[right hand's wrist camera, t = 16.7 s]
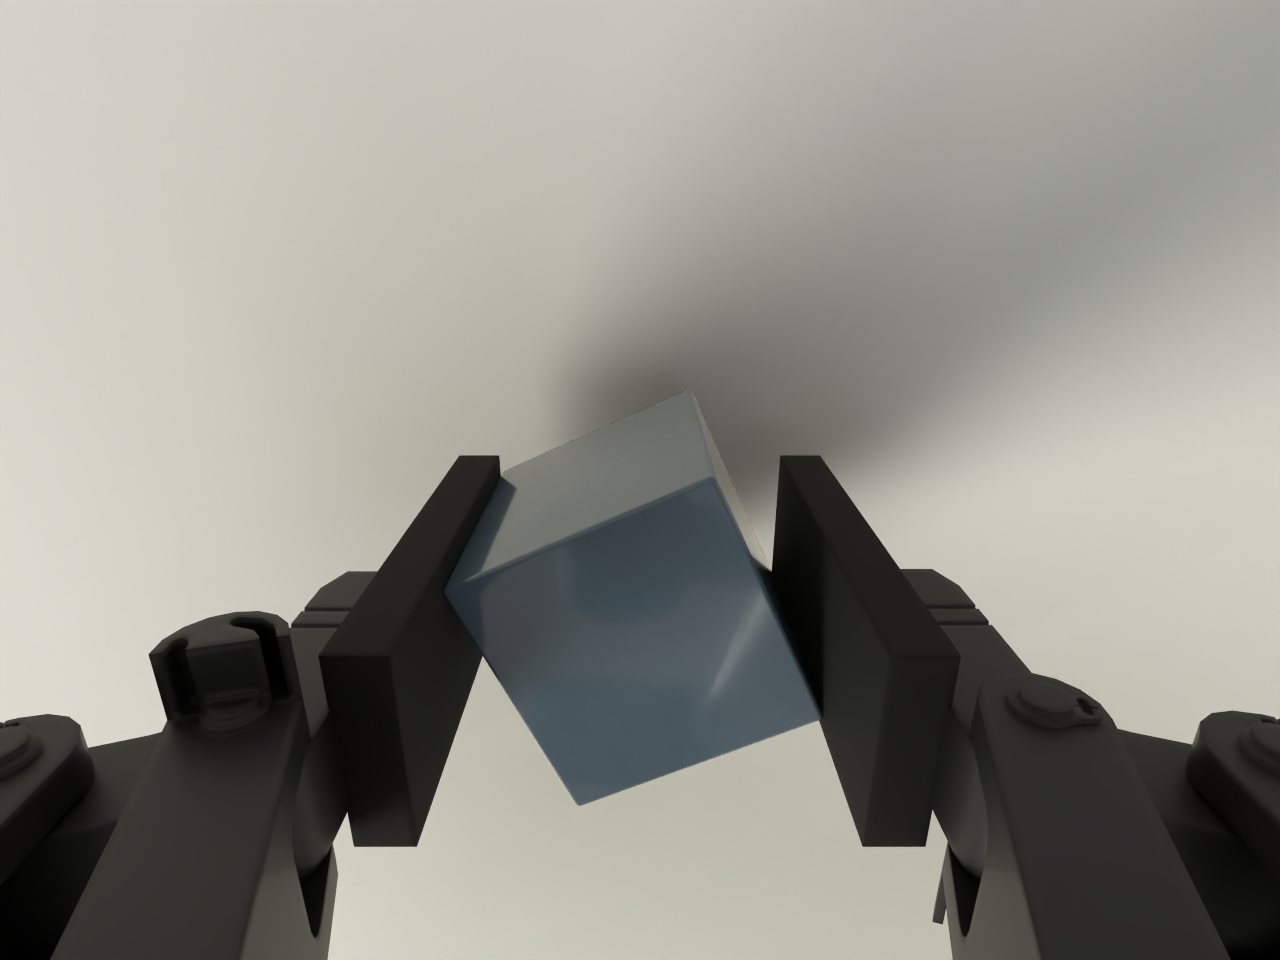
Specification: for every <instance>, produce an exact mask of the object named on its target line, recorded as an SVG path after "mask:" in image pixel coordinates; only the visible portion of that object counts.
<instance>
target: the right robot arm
mask: <svg viewBox="0 0 1280 960" xmlns="http://www.w3.org/2000/svg"><path fill="white" fill-rule="evenodd" d="M500 477H501V474H500V461H499V456H459V457H458V459H457V460H456V461H455V463H454V464H453V466H452V467H451V469H450V470H449V471H448V473H447V474H446V476H445V477H444V478H443V480H442V481H441V483H440V484H439V486H438V487H437V488H436V490H435V491H434V493H433V494H432V495H431V497H430V498H429V500H428V501H427V502H426V504H425V505H424V507H423V508H422V510H421V511H420V512H419V514H418V515H417V517H416V518H415V519H414V521H413V522H412V524H411V525H410V527H409V528H408V529H407V531H406V532H405V534H404V535H403V536H402V538H401V539H400V541H399V542H398V544H397V545H396V546H395V548H394V549H393V551H392V552H391V553H390V555H389V556H388V558H387V559H386V561H385V562H384V563H383V565H382V566H381V568H380V569H379V570H378V572H346V573H345V574H343V575H341V576H340V577H338V578H336V579H335V580H333V581H332V582H330V583H328V584H327V585H325V586H323V587H322V588H320V590H319V591H318V592H317V593H316V594H315V596H314V597H313V598H312V599H311V601H310V602H309V603H308V604H307V605H306V607H305V611H301V613H300V614H299V615H298V616H297V618H296V619H295V620H294V621H293V622H292V624H291V628H289V626H288V623H287V622H286V621H285V620H283V619H282V618H281V617H279V616H278V615H275V614H270V613H265V612H260V611H251V612H233V613H229V614H224V615H219V616H214V617H210V618H207V619H204V620H202V621H199V622H196V623H194V624H191V625H188V626H186V627H183V628H182V629H180V630H178V631H177V632H175V633H173V634H172V635H170V636H168V637H167V638H165V639H163V640H162V641H161V642H160V643H159V644H158V645H157V646H156V647H155V648H154V649H153V650H152V651H151V652H150V653H149V658H150V661H151V665H152V668H153V672H154V675H155V678H156V682H157V685H158V689H159V692H160V696H161V699H162V703H163V706H164V710H165V713H166V717H167V722H166V725H165V727H164V729H163V731H162V732H160V733H156V734H153V735H149V736H144V737H139V738H134V739H129V740H125V741H120V742H115V743H110V744H105V745H100V746H95V747H90V748H88V747H87V744H86V741H85V738H84V735H83V732H82V729H81V726H80V725H79V724H78V723H76V722H75V721H74V720H73V719H71V718H70V717H67V716H59V715H51V714H45V715H38V716H30V717H22V718H16V719H12V720H8V721H6V722H5V723H2V722H1V723H0V960H327V958H328V950H329V942H330V934H331V926H332V918H333V910H334V902H335V894H336V886H337V878H338V872H337V864H336V858H335V853H334V848H333V841H334V839H335V837H336V835H337V832H338V830H339V828H340V826H341V824H342V822H343V820H344V818H345V816H346V814H347V812H348V817H349V822H350V827H351V833H352V838H353V843H354V847H417V844H418V842H419V839H420V836H421V833H422V830H423V827H424V824H425V821H426V818H427V815H428V813H429V810H430V807H431V804H432V801H433V798H434V795H435V792H436V789H437V786H438V784H439V781H440V778H441V775H442V772H443V769H444V766H445V763H446V760H447V758H448V755H449V752H450V749H451V746H452V743H453V740H454V737H455V734H456V731H457V729H458V726H459V723H460V720H461V717H462V714H463V711H464V708H465V705H466V702H467V700H468V697H469V694H470V691H471V688H472V685H473V682H474V679H475V676H476V673H477V671H478V668H479V665H480V662H481V659H482V656H483V655H482V654H481V652H480V650H479V649H478V647H477V646H476V644H475V643H474V641H473V639H472V638H471V636H470V635H469V633H468V631H467V630H466V628H465V627H464V625H463V624H462V622H461V620H460V619H459V617H458V616H457V614H456V612H455V611H454V609H453V608H452V606H451V605H450V603H449V601H448V600H447V598H446V597H445V595H444V592H443V589H444V587H445V585H446V583H447V581H448V579H449V577H450V575H451V573H452V571H453V569H454V567H455V565H456V563H457V561H458V559H459V558H460V556H461V554H462V552H463V550H464V548H465V546H466V544H467V542H468V540H469V538H470V536H471V534H472V532H473V530H474V528H475V526H476V524H477V522H478V520H479V518H480V516H481V514H482V512H483V510H484V508H485V507H486V505H487V503H488V501H489V499H490V497H491V495H492V493H493V491H494V489H495V487H496V485H497V483H498V481H499V479H500ZM772 574H773V577H774V579H775V582H776V585H777V588H778V591H779V593H780V596H781V599H782V602H783V605H784V607H785V610H786V613H787V616H788V619H789V621H790V624H791V627H792V630H793V632H794V635H795V638H796V641H797V644H798V646H799V649H800V652H801V655H802V658H803V660H804V663H805V666H806V669H807V672H808V674H809V677H810V680H811V683H812V685H813V688H814V691H815V694H816V697H817V699H818V702H819V705H820V708H821V711H822V713H823V714H822V719H820V720H819V721H820V724H821V727H822V730H823V733H824V736H825V739H826V742H827V745H828V747H829V750H830V753H831V756H832V759H833V762H834V765H835V768H836V771H837V774H838V776H839V779H840V782H841V785H842V788H843V791H844V794H845V797H846V800H847V803H848V805H849V808H850V811H851V814H852V817H853V820H854V823H855V826H856V829H857V832H858V834H859V837H860V840H861V843H862V846H863V847H925V846H926V840H927V835H928V830H929V825H930V819H931V814H932V809H933V811H934V813H935V815H936V817H937V819H938V821H939V824H940V826H941V828H942V830H943V832H944V834H945V836H946V838H947V840H948V843H947V848H946V853H945V858H944V863H943V868H942V873H941V877H940V882H939V887H938V892H937V897H936V902H935V908H934V915H933V922H935V923H939V924H943V920H944V915H945V911H946V909H947V916H948V924H949V932H950V940H951V948H952V956H953V960H1280V719H1278V720H1277V719H1275V717H1271V716H1266V715H1262V714H1254V713H1246V712H1239V711H1226V712H1218V713H1211V714H1210V715H1209V716H1207V717H1206V718H1205V719H1203V720H1202V721H1201V722H1200V724H1199V727H1198V730H1197V733H1196V736H1195V739H1194V742H1193V745H1191V744H1186V743H1182V742H1177V741H1172V740H1167V739H1162V738H1157V737H1152V736H1147V735H1142V734H1137V733H1132V732H1128V731H1124V730H1121V729H1117V727H1116V725H1115V723H1114V721H1113V719H1112V718H1111V717H1110V715H1109V714H1108V713H1107V712H1106V710H1105V709H1104V708H1103V707H1102V705H1101V704H1100V703H1098V702H1097V701H1096V700H1094V699H1093V698H1091V697H1090V696H1088V695H1087V694H1086V693H1084V692H1083V691H1081V690H1080V689H1077V688H1075V687H1073V686H1071V685H1068V684H1066V683H1064V682H1062V681H1059V680H1057V679H1054V678H1050V677H1046V676H1042V675H1038V674H1034V673H1031V672H1030V670H1029V669H1028V668H1027V667H1026V666H1025V664H1024V663H1023V662H1022V661H1021V660H1020V658H1019V657H1018V656H1017V655H1016V654H1015V652H1014V651H1013V650H1012V649H1011V648H1010V646H1009V645H1008V644H1007V643H1006V642H1005V640H1004V639H1003V638H1002V637H1001V635H1000V634H999V633H998V632H997V631H996V629H995V628H994V627H993V626H992V625H989V621H988V620H987V619H986V617H985V616H984V615H983V614H982V613H981V611H980V610H979V609H975V604H974V603H973V602H972V601H971V599H970V598H969V597H968V596H967V595H966V593H965V592H964V591H963V590H962V588H961V587H960V586H959V585H957V584H956V583H954V582H952V581H951V580H949V579H947V578H946V577H944V576H942V575H941V574H939V573H938V572H936V571H934V570H933V569H900V568H899V567H898V566H897V564H896V563H895V561H894V560H893V558H892V557H891V556H890V554H889V553H888V551H887V550H886V549H885V547H884V546H883V544H882V543H881V541H880V540H879V539H878V537H877V536H876V534H875V533H874V532H873V530H872V529H871V527H870V526H869V524H868V523H867V522H866V520H865V519H864V517H863V516H862V515H861V513H860V512H859V510H858V509H857V508H856V506H855V505H854V503H853V502H852V500H851V499H850V498H849V496H848V495H847V493H846V492H845V491H844V489H843V488H842V486H841V485H840V483H839V482H838V481H837V479H836V478H835V476H834V475H833V474H832V472H831V471H830V469H829V468H828V466H827V465H826V464H825V462H824V461H823V459H822V458H821V457H820V456H780V467H779V481H778V494H777V508H776V522H775V535H774V549H773V562H772Z"/></svg>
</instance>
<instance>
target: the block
mask: <svg viewBox="0 0 1280 960" xmlns="http://www.w3.org/2000/svg"><path fill="white" fill-rule="evenodd" d="M443 592H444V595H445V597H446V598H447V600H448V601H449V603H450V605H451V606H452V608H453V609H454V611H455V612H456V614H457V616H458V617H459V619H460V620H461V622H462V624H463V625H464V627H465V628H466V630H467V631H468V633H469V635H470V636H471V638H472V639H473V641H474V643H475V644H476V646H477V647H478V649H479V650H480V652H481V654H482V655H483V657H484V658H485V660H486V662H487V663H488V665H489V666H490V668H491V669H492V671H493V673H494V674H495V676H496V677H497V679H498V681H499V682H500V684H501V685H502V687H503V688H504V690H505V692H506V693H507V695H508V696H509V698H510V700H511V701H512V703H513V704H514V706H515V707H516V709H517V711H518V712H519V714H520V715H521V717H522V719H523V720H524V722H525V723H526V725H527V727H528V728H529V730H530V731H531V733H532V734H533V736H534V738H535V739H536V741H537V742H538V744H539V746H540V747H541V749H542V750H543V752H544V753H545V755H546V757H547V758H548V760H549V761H550V763H551V765H552V766H553V768H554V769H555V771H556V772H557V774H558V776H559V777H560V779H561V780H562V782H563V784H564V785H565V787H566V788H567V790H568V791H569V793H570V795H571V796H572V798H573V799H574V801H575V803H576V804H577V805H578V806H581V805H584V804H587V803H590V802H593V801H595V800H598V799H601V798H604V797H606V796H609V795H612V794H615V793H618V792H620V791H623V790H626V789H629V788H631V787H634V786H637V785H640V784H643V783H645V782H648V781H651V780H654V779H657V778H659V777H662V776H665V775H668V774H670V773H673V772H676V771H679V770H682V769H684V768H687V767H690V766H693V765H695V764H698V763H701V762H704V761H707V760H709V759H712V758H715V757H718V756H721V755H723V754H726V753H729V752H732V751H734V750H737V749H740V748H743V747H746V746H748V745H751V744H754V743H757V742H760V741H762V740H765V739H768V738H771V737H773V736H776V735H779V734H782V733H785V732H787V731H790V730H793V729H796V728H798V727H801V726H804V725H807V724H810V723H812V722H815V721H818V720H820V719H822V714H823V713H822V711H821V708H820V705H819V702H818V699H817V697H816V694H815V691H814V688H813V685H812V683H811V680H810V677H809V674H808V672H807V669H806V666H805V663H804V660H803V658H802V655H801V652H800V649H799V646H798V644H797V641H796V638H795V635H794V632H793V630H792V627H791V624H790V621H789V619H788V616H787V613H786V610H785V607H784V605H783V602H782V599H781V596H780V593H779V591H778V588H777V585H776V582H775V579H774V577H773V574H772V571H771V568H770V566H769V564H768V561H767V559H766V557H765V554H764V552H763V550H762V548H761V545H760V543H759V541H758V539H757V536H756V534H755V532H754V530H753V527H752V525H751V523H750V521H749V518H748V516H747V514H746V511H745V509H744V507H743V505H742V502H741V500H740V498H739V496H738V493H737V491H736V489H735V487H734V484H733V482H732V480H731V478H730V475H729V473H728V471H727V468H726V466H725V464H724V462H723V459H722V457H721V455H720V453H719V450H718V448H717V446H716V444H715V441H714V439H713V437H712V435H711V432H710V430H709V428H708V425H707V423H706V421H705V419H704V416H703V414H702V412H701V410H700V407H699V405H698V403H697V401H696V398H695V396H694V394H693V392H692V391H691V390H686V391H684V392H682V393H679V394H677V395H675V396H673V397H670V398H668V399H666V400H664V401H661V402H659V403H657V404H655V405H652V406H650V407H648V408H646V409H643V410H641V411H639V412H637V413H634V414H632V415H630V416H628V417H625V418H623V419H621V420H618V421H616V422H614V423H612V424H609V425H607V426H605V427H603V428H600V429H598V430H596V431H594V432H591V433H589V434H587V435H585V436H582V437H580V438H578V439H576V440H573V441H571V442H569V443H567V444H564V445H562V446H560V447H558V448H555V449H553V450H551V451H549V452H546V453H544V454H542V455H540V456H537V457H535V458H533V459H531V460H528V461H526V462H524V463H522V464H519V465H517V466H515V467H512V468H510V469H508V470H506V471H504V472H503V473H502V475H501V477H500V479H499V481H498V483H497V485H496V487H495V489H494V491H493V493H492V495H491V497H490V499H489V501H488V503H487V505H486V507H485V508H484V510H483V512H482V514H481V516H480V518H479V520H478V522H477V524H476V526H475V528H474V530H473V532H472V534H471V536H470V538H469V540H468V542H467V544H466V546H465V548H464V550H463V552H462V554H461V556H460V558H459V559H458V561H457V563H456V565H455V567H454V569H453V571H452V573H451V575H450V577H449V579H448V581H447V583H446V585H445V587H444V589H443Z"/></svg>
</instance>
